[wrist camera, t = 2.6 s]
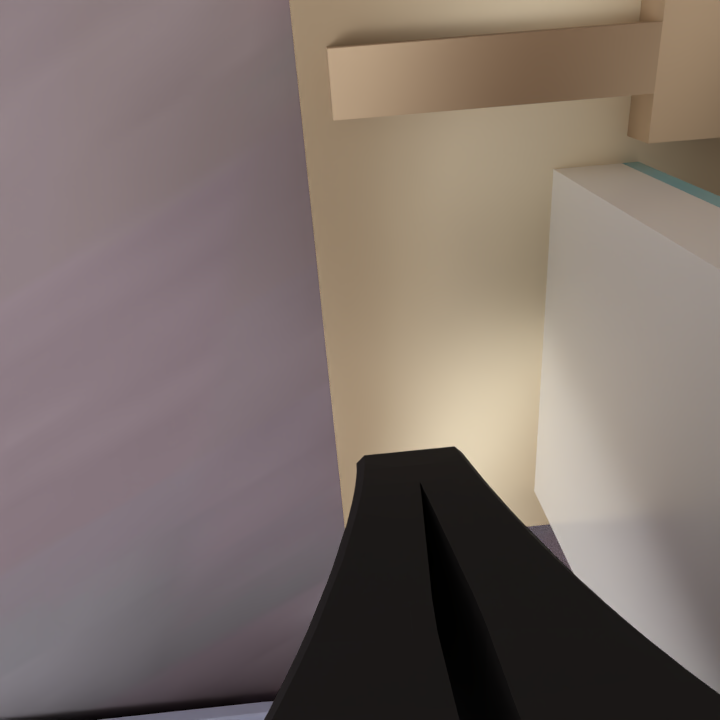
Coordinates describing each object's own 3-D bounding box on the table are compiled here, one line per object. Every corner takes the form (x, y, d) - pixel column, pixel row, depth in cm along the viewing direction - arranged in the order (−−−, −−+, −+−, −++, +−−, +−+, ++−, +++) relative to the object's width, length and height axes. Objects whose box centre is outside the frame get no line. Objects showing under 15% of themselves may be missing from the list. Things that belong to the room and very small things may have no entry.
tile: (534, 490, 15) (697, 832, 9) (553, 169, 12) (836, 341, 5) (601, 484, 15) (811, 820, 9) (638, 161, 12) (1018, 322, 5)
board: (345, 526, 16) (346, 544, 15) (289, -8, 11) (288, -9, 10) (885, 472, 16) (905, 488, 15) (1076, -69, 11) (1115, -74, 10)
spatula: (335, 161, 11) (337, 170, 11) (321, -8, 10) (322, -10, 9) (967, 106, 12) (1010, 111, 11) (1022, -63, 10) (1074, -70, 10)
